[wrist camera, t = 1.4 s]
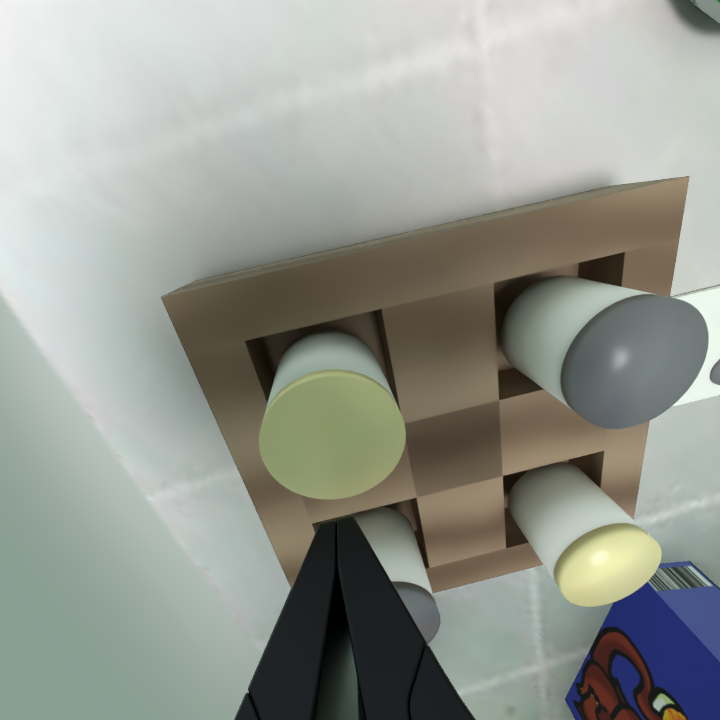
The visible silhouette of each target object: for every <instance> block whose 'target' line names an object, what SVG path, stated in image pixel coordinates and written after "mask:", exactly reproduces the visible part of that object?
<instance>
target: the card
mask: <svg viewBox="0 0 720 720" xmlns="http://www.w3.org/2000/svg"><path fill="white" fill-rule="evenodd" d="M671 298H676V299H680V300H683V301H686V302H688V303H690V304H691V305H693V306H694V307H695V308H697V309H698V311H699V312H700V313H701V314H702V316H703V318H704V319H705V321H706V325H707V328H708V334H709V344H708V350H707V355H706V358H705V361H704V364H703V366H702V369H701V371H700V372H699V374H698V376H697V378H696V379H695V381H694V382H693V384H692V385H691V387H690V388H689V389H688V390H687V392H686V393H685V394H684V395H683V396H682V397H681V398H680V399H679V400H678V401H677V402H676V403H675V404H674V405H673V406H676V405H680V404H684V403H688V402H692V401H697V400H701V399H705V398H709V397H713V396H717V395H720V285H719V286H715V287H711V288H707V289H703V290H698V291H694V292H690V293H686V294H682V295H677V296H673V297H671ZM671 407H672V406H671Z"/></svg>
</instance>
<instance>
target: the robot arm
mask: <svg viewBox="0 0 720 720" xmlns="http://www.w3.org/2000/svg"><path fill="white" fill-rule="evenodd" d="M248 691H249V693H246V694H245V696H244V698H243V700H242V703H241V705H240V708H239V710H238V712H237V714H236V717H235V719H234V720H475V718H474V717H473V715H472V714H471V712H470V711H469V710H468V708H467V707H466V705H465V704H464V702H463V701H462V699H461V698H460V696H459V695H458V693H457V692H456V690H455V688H454V687H453V685H452V683H451V682H450V680H449V679H448V677H447V675H446V674H445V672H444V671H443V669H442V667H441V666H440V664H439V662H438V660H437V659H436V657H435V655H434V654H433V652H432V650H431V648H430V647H429V646H427V642H426V640H425V638H424V637H423V635H422V633H421V631H420V630H419V628H418V626H417V625H416V623H415V621H414V619H413V618H412V616H411V614H410V612H409V611H408V609H407V607H406V606H405V604H404V602H403V600H402V599H401V597H400V595H399V594H398V592H397V590H396V588H395V587H394V585H393V583H392V581H391V580H390V578H389V576H388V575H387V573H386V571H385V569H384V568H383V566H382V564H381V562H380V561H379V559H378V557H377V556H376V554H375V552H374V550H373V549H372V547H371V545H370V543H369V542H368V540H367V538H366V537H365V535H364V533H363V531H362V530H361V528H360V526H359V524H358V523H357V521H356V519H355V518H354V516H353V515H349V516H345V517H341V518H338V519H337V521H336V520H334V519H333V520H329V521H325V522H322V523H320V524H319V526H318V528H317V531H316V533H315V535H314V537H313V540H312V542H311V544H310V547H309V549H308V551H307V554H306V556H305V558H304V560H303V563H302V565H301V567H300V570H299V572H298V574H297V577H296V579H295V581H294V584H293V586H292V588H291V590H290V593H289V595H288V597H287V600H286V602H285V604H284V607H283V609H282V611H281V613H280V616H279V618H278V620H277V623H276V625H275V627H274V630H273V632H272V634H271V636H270V639H269V641H268V643H267V646H266V648H265V650H264V653H263V655H262V657H261V660H260V662H259V664H258V666H257V669H256V671H255V674H254V676H253V678H252V680H251V683H250V685H249V687H248Z"/></svg>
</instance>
